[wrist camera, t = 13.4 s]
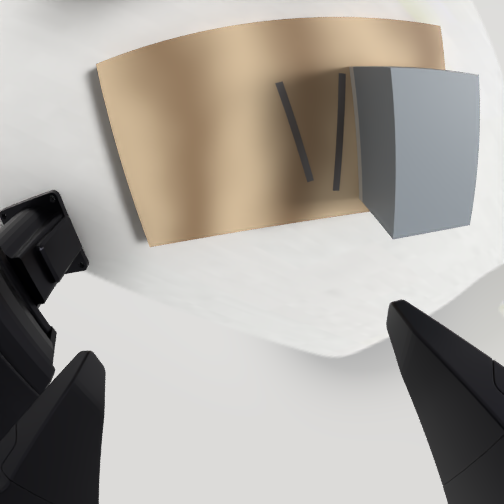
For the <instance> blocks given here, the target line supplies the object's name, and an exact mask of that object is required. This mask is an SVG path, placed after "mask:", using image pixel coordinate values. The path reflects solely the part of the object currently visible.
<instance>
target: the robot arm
mask: <svg viewBox="0 0 504 504" xmlns="http://www.w3.org/2000/svg"><path fill="white" fill-rule="evenodd" d="M52 196H54V197H55V200H54V199H53V198H52ZM5 215H6V216H5ZM0 218H1V220H2V222H3V226H2V227H1V228H0V504H99V473H100V457H101V444H102V433H103V423H104V408H105V407H104V406H105V368H104V366H103V365H102V363H101V362H100V361H99V360H98V358H97V357H96V355H95V354H94V353H93V352H92V351H81V352H79V353H78V354H77V355H76V356H75V357H74V359H73V360H72V361H71V362H70V363H69V364H68V365H67V366H66V367H65V368H64V369H63V370H62V372H61V373H60V374H59V375H58V376H57V377H56V378H55V379H54V380H53V381H52V383H51V384H50V382H51V380H52V378H53V375H54V372H55V368H54V366H53V357H54V348H55V341H56V334H57V333H56V331H55V330H54V329H53V327H52V326H50V325H49V324H48V322H47V321H46V319H45V318H44V317H43V315H42V314H41V312H40V311H39V309H38V308H39V306H40V305H41V304H44V303H45V301H46V300H47V298H48V296H49V295H50V293H51V292H52V290H53V289H54V287H55V286H56V284H57V283H58V282H60V280H61V279H62V277H63V276H64V274H67V273H73V272H79V271H84V270H86V269H87V267H88V266H89V262H88V259H87V257H86V255H85V253H84V251H83V249H82V245H81V243H80V241H79V239H78V237H77V234H76V232H75V230H74V227H73V225H72V223H71V220H70V218H69V216H68V214H67V211H66V209H65V206H64V204H63V201H62V199H61V196H60V194H59V192H57V191H56V190H52V191H49V192H46V193H44V194H41V195H38V196H35V197H33V198H30V199H27V200H25V201H22V202H20V203H17V204H15V205H12V206H10V207H7V208H5V209H3V210H2V211H1V212H0ZM81 262H82V263H83V264H84V265H83V264H81ZM386 325H387V330H388V334H389V337H390V340H391V343H392V346H393V349H394V353H395V355H396V359H397V362H398V366H399V369H400V372H401V375H402V377H403V380H404V382H405V384H406V387H407V389H408V392H409V394H410V397H411V399H412V401H413V404H414V407H415V409H416V412H417V414H418V417H419V419H420V422H421V424H422V427H423V430H424V432H425V435H426V438H427V441H428V443H429V446H430V449H431V452H432V455H433V457H434V460H435V463H436V466H437V469H438V472H439V475H440V478H441V481H442V484H443V488H444V491H445V495H446V498H447V501H448V504H504V367H503V366H502V365H501V364H499V363H498V362H496V361H495V360H493V361H492V358H490V357H489V356H488V355H486V354H484V353H483V352H482V351H480V350H479V349H477V348H476V347H474V346H473V345H471V344H470V343H468V342H467V341H465V340H464V339H463V338H461V337H460V336H458V335H457V334H455V333H454V332H452V331H451V330H449V329H448V328H446V327H445V326H443V325H442V324H440V323H439V322H437V321H436V320H434V319H433V318H431V317H430V316H428V315H427V314H425V313H424V312H422V311H421V310H419V309H418V308H416V307H414V306H413V305H411V304H410V303H408V302H407V301H405V300H398V301H394V302H391V303H390V305H389V309H388V316H387V322H386ZM49 384H50V385H49Z"/></svg>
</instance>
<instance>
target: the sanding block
mask: <svg viewBox="0 0 504 504" xmlns="http://www.w3.org/2000/svg"><path fill="white" fill-rule="evenodd" d="M349 69H350V77H351V86H352V95H353V104H354V115H355V127H356V140H357V156H358V178H359V199H360V200H361V201H362V202H363V204H364V205H365V206H366V207H367V208H368V209H369V211H370V212H371V213H372V214H373V215H374V217H375V218H376V219H377V220H378V221H379V223H380V224H381V225H382V226H383V227H384V229H385V230H386V231H387V232H388V234H389V235H390V236H391V237H392V239H397V238H403V237H408V236H414V235H419V234H424V233H430V232H435V231H440V230H446V229H451V228H456V227H462V226H467V225H470V220H471V214H472V207H473V200H474V193H475V185H476V175H477V165H478V151H479V130H480V93H479V75H476V74H470V73H463V72H456V71H449V70H440V69H431V68H418V67H396V66H352V67H349Z"/></svg>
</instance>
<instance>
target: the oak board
mask: <svg viewBox="0 0 504 504" xmlns="http://www.w3.org/2000/svg"><path fill="white" fill-rule="evenodd" d="M96 66H97V71H98V76H99V80H100V84H101V89H102V93H103V97H104V101H105V105H106V109H107V113H108V117H109V121H110V124H111V128H112V132H113V135H114V139H115V143H116V146H117V150H118V153H119V156H120V160H121V163H122V166H123V170H124V173H125V176H126V179H127V182H128V186H129V189H130V192H131V195H132V198H133V201H134V204H135V207H136V210H137V213H138V216H139V218H140V221H141V224H142V227H143V230H144V233H145V235H146V238H147V241H148V243H149V246H150V247H153V246H159V245H164V244H170V243H176V242H181V241H187V240H193V239H199V238H204V237H210V236H216V235H222V234H228V233H234V232H240V231H246V230H252V229H258V228H264V227H271V226H277V225H283V224H289V223H296V222H302V221H309V220H315V219H322V218H328V217H335V216H342V215H349V214H356V213H362V212H369V209H368V208H367V207H366V206H365V205H364V204H363V202H362V201H361V200H360V199H359V178H358V156H357V140H356V127H355V115H354V104H353V95H352V86H351V77H350V69H349V67H352V66H396V67H418V68H431V69H440V70H445V62H444V51H443V42H442V35H441V27H440V26H437V25H431V24H425V23H418V22H410V21H401V20H391V19H378V18H359V17H315V18H295V19H282V20H272V21H263V22H255V23H247V24H241V25H234V26H228V27H223V28H217V29H212V30H207V31H202V32H198V33H193V34H189V35H185V36H181V37H177V38H173V39H169V40H166V41H162V42H159V43H155V44H152V45H149V46H145V47H142V48H139V49H136V50H133V51H130V52H127V53H124V54H121V55H119V56H116V57H113V58H110V59H108V60H105V61H103V62H100V63H98V64H96Z"/></svg>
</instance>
